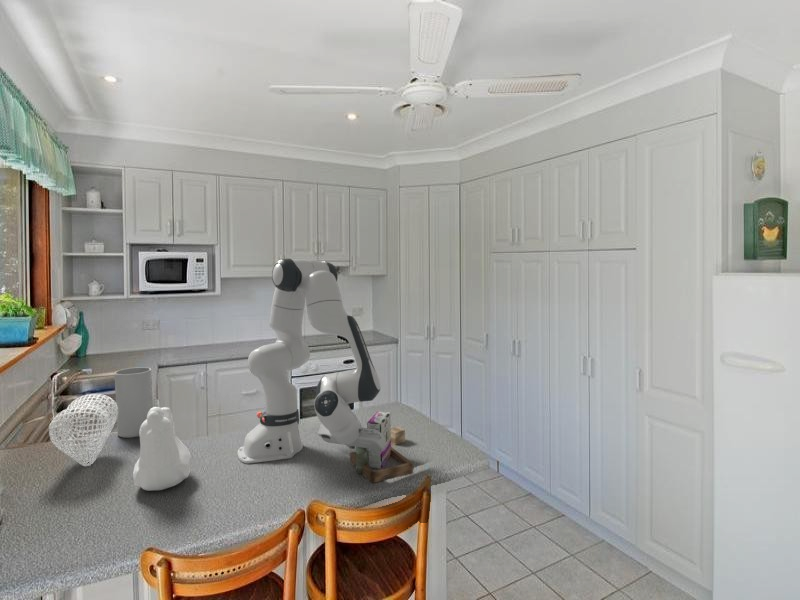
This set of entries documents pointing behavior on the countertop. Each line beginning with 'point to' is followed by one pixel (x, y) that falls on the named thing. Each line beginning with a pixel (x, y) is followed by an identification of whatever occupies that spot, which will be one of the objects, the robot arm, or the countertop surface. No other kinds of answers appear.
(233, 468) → the countertop surface
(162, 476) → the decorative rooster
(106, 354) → the countertop surface
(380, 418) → the candy bar box
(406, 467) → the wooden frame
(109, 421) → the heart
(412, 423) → the countertop surface
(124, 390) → the cylinder vase
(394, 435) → the oak cube
